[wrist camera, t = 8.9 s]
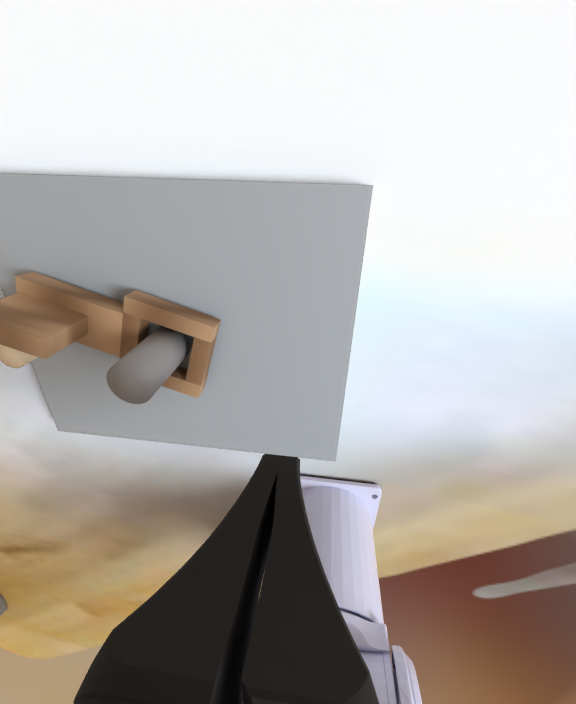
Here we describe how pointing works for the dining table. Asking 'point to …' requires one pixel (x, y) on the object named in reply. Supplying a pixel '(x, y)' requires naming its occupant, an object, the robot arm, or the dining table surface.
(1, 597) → the coffeepot
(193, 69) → the dining table surface
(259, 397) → the base board
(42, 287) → the brown wooden blocky piece
